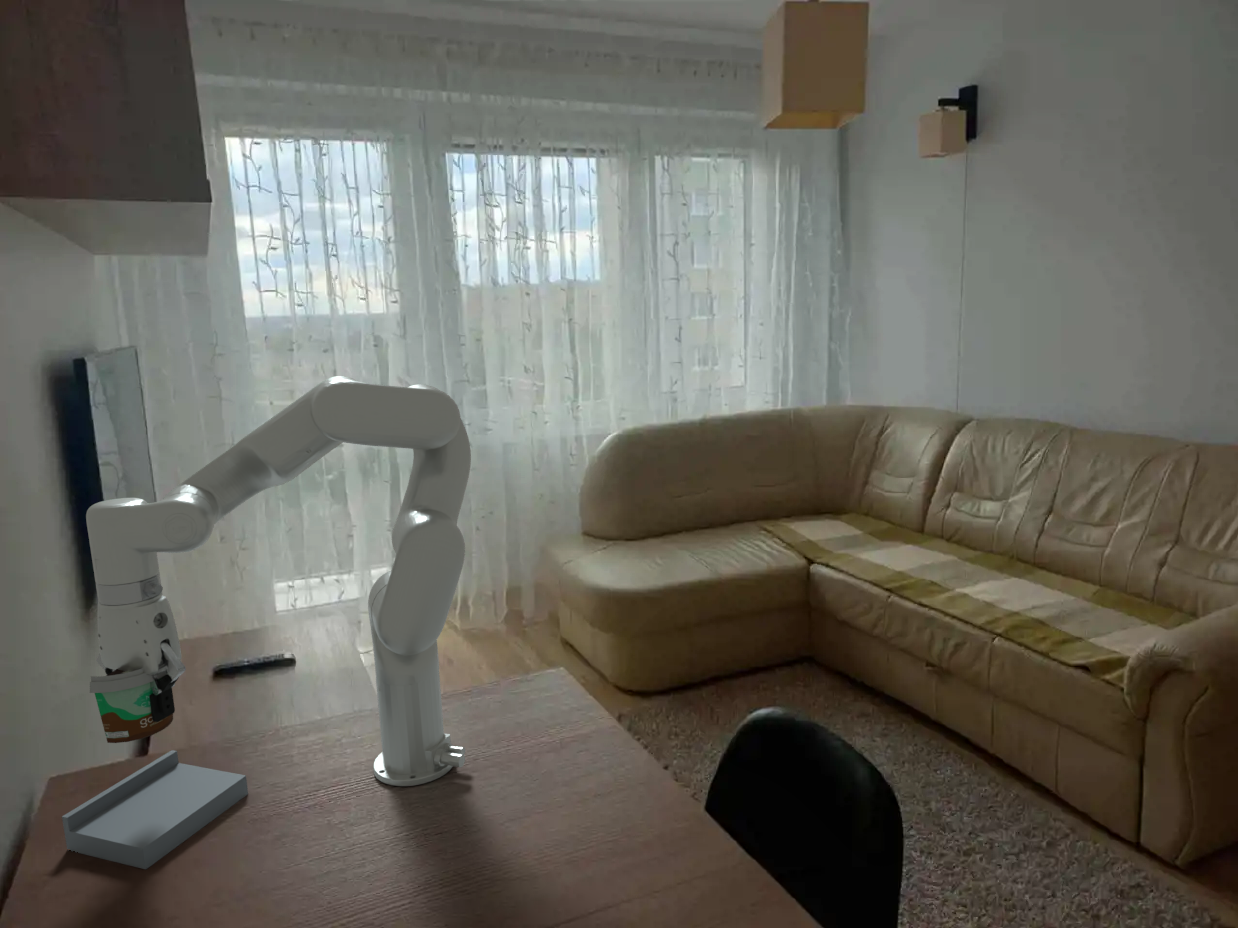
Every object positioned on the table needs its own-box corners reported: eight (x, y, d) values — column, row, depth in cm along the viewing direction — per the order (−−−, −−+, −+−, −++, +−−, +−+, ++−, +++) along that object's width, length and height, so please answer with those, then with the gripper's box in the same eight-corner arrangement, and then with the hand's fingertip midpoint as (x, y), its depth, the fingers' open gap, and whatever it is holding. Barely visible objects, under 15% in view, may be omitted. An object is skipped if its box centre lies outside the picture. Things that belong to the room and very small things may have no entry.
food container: (137, 752, 110) (127, 681, 108) (98, 748, 111) (87, 678, 109) (202, 708, 122) (194, 643, 120) (166, 705, 123) (157, 641, 121)
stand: (248, 793, 125) (244, 763, 124) (145, 869, 108) (140, 834, 108) (176, 779, 130) (172, 749, 129) (67, 849, 113) (61, 816, 112)
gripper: (201, 586, 114) (216, 710, 117) (107, 576, 119) (124, 695, 122) (154, 604, 107) (172, 735, 110) (57, 593, 112) (77, 719, 116)
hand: (147, 713), depth 116 cm, fingers closed on food container, 5 cm apart
